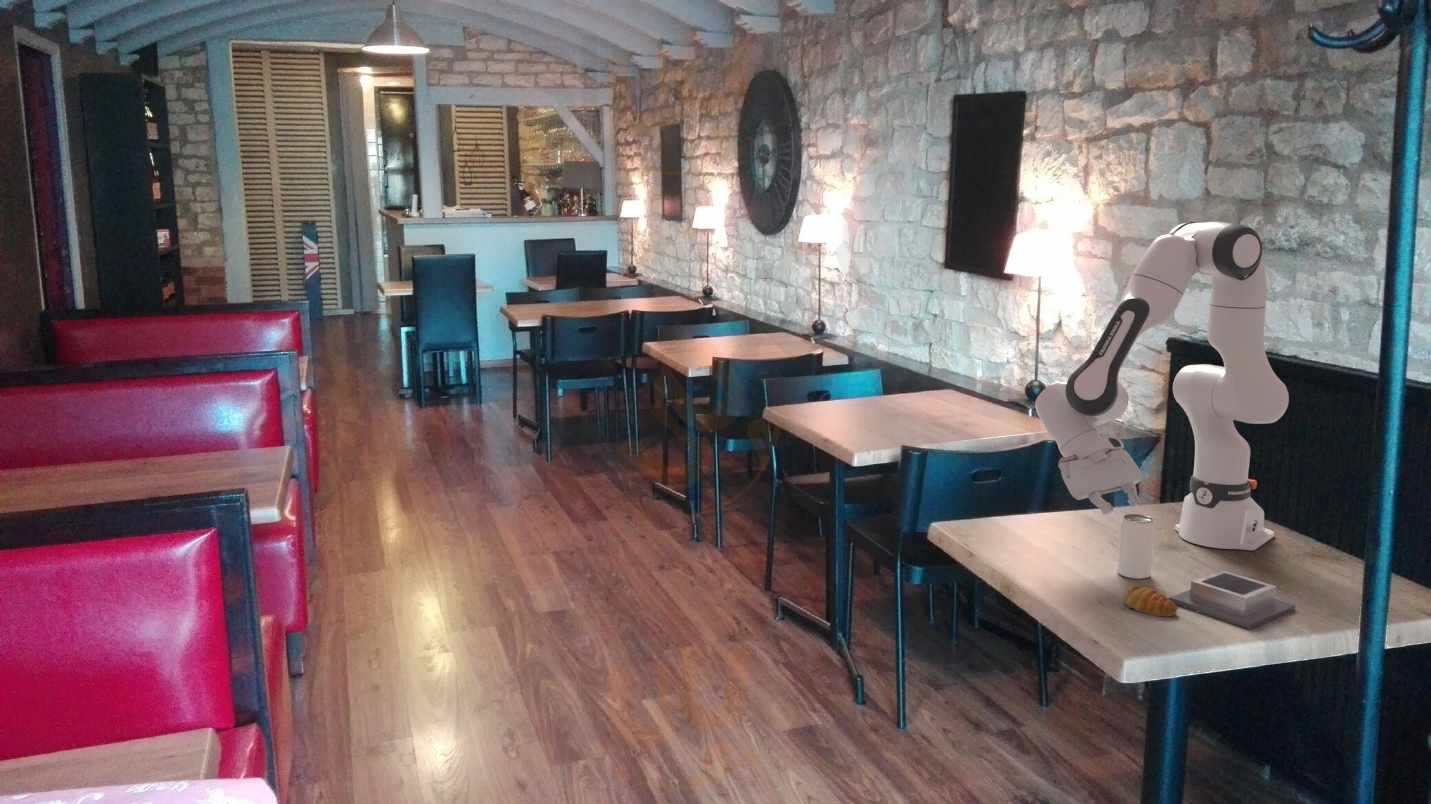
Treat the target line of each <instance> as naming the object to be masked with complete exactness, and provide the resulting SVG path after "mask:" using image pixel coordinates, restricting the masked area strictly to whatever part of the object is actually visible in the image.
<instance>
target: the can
mask: <svg viewBox="0 0 1431 804" xmlns="http://www.w3.org/2000/svg"><path fill="white" fill-rule="evenodd" d="M1155 527H1156V526H1155V524H1154V518H1153V517H1150V516H1148V515H1143V514H1139V513H1138V514H1137V513H1135V514H1134V513H1131V514H1125V515H1124V516H1123V520H1122V521H1121V524H1120V531H1119V543H1118V551H1117V553H1118V555H1117V568H1116V572H1117V573H1118V574H1119V576H1122V577H1123V576H1124V578H1126V577H1127V578H1126V579H1130V578H1131V579H1132V580H1146V579H1148V578H1149V577H1151V573H1152V564H1153V555H1154V554H1153V553H1154V543H1155V530H1156V528H1155ZM1145 578H1146V579H1145Z"/></svg>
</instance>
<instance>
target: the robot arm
mask: <svg viewBox="0 0 1431 804" xmlns="http://www.w3.org/2000/svg"><path fill="white" fill-rule="evenodd" d="M1262 255H1263V245H1262V241H1261V237H1260V235H1259V234H1258V232H1257V231H1256V230H1255V229H1253V228H1251V227H1249V226H1248V225H1245V224H1240V223H1229V222H1222V221H1207V222H1206V221H1205V222H1204V221H1203V222H1197V221H1196V222H1194V221H1189V222H1184V223H1181V224H1178V225H1176V226H1175V227H1173V228H1172V229H1171V230H1170V231H1169V232H1168V233H1167V234H1163V235H1160V236H1157V238H1155V239H1154V240H1153V241H1152V242H1151V244H1150V245H1149V246H1148V247H1147V249H1146V250H1145V252H1144V254H1142V256H1141V258H1140V259H1139V261H1138V263H1137V265H1136V266H1135V268H1134V271H1133V272H1132V274H1131V276H1130V279H1129V280H1128V282H1127V285H1126V287H1125V289H1124V291H1123V294H1122V296H1121V299H1120V300H1119V302H1118V305H1117V307H1116V309H1115V312H1114V313H1113V315H1112V317H1111V319H1110V321H1109V322H1108V324H1107V326H1106V327H1105V329H1104V331H1103V332H1102V335H1100V338H1099V340H1098V342H1097V344H1096V345H1095V346H1094V349H1093V350H1092V352H1091V354H1090V355H1089V357H1088V358H1087V360H1086V361H1084V362H1083V363H1082V364H1081V365H1080V366H1079V367H1077V369H1075V370H1074V371H1073V373H1071V374H1070V376H1069V378H1068V379H1067V382H1066V381H1065V382H1064V381H1055V382H1053V383H1050V384H1049V385H1047V386H1046V387H1044V389H1042V390H1041V392H1040V393H1039V394H1038V396H1037V398H1036V399H1035V403H1034V406H1035V411H1036V414H1037V416H1038V417H1039V419H1040V421H1041V424H1042V425H1043V427H1044V429H1045V430H1046V432H1047V433H1048V435H1049V436H1050V437H1051V438H1052V439H1053V440H1054V441H1055V442H1056V444H1057V446H1058V449H1059V452H1060V454H1061V455H1062V457H1061V458H1059V461H1058V468H1059V469H1060V475H1061V477H1062V480H1063V482H1064V485H1065V486H1066V487H1067V490H1068V492H1069V493H1070V495H1071V496H1072V497H1073V498H1074V499H1075V500H1077V501H1080V500H1084V499H1088V500H1089V501H1090V502H1091V503H1092V504H1093V505H1094V506H1095V507H1097V508H1098V509H1100V511H1101V513H1102V514H1103V515H1108V514H1111V513H1112V512H1113V511H1114V507H1113V506H1112V504H1111V502H1107V501H1106V500H1105V499H1103V497H1102V495H1104V494H1110V493H1112V492H1117V491H1120V490H1122V491H1123V492H1124V493H1125V494H1127V497H1128V500H1127V503H1128V504H1129V506H1130V507H1131V508H1134V507H1137V506H1139V505H1140V504H1142V501H1141V499H1140V498H1139V496H1138V491H1137V490H1138V489H1137V486H1136V485H1137V484H1138V483H1140V482H1141V481H1142V480H1143V476H1142V471H1141V470H1140V468H1139V467H1138V465H1137V464H1136V461H1134V458H1132V456H1131V455H1130V454H1129V452H1127V451H1126V450H1125V449H1123V448H1124V447H1125V445H1124V443H1123V441H1122V440H1121V439H1120V438H1115V437H1111V436H1108V435H1104V434H1101V433H1100V432H1099V430H1098V429H1097V427H1101V426H1104V425H1105V424H1108V423H1110V422H1113V421H1115V420H1117V419H1119V418H1120V417H1121V416H1122V415H1124V413H1125V412H1126V410H1127V408H1128V405H1129V394H1128V392H1127V389H1126V388H1125V386H1124V385H1122V383H1121V382H1120V381H1119V373H1120V371H1121V369H1122V367H1123V365H1124V363H1125V361H1126V359H1127V358H1128V355H1129V354H1130V352H1131V350H1132V349H1133V347H1134V345H1135V343H1136V341H1137V340H1138V339H1139V337H1140V336H1141V335H1142V334H1144V332H1146V331H1148V330H1150V329H1154V328H1159V327H1160V326H1163V325H1165V324H1166V323H1167V322H1168V321H1169V320H1170V318H1171V317H1172V316H1173V314H1174V313H1175V311H1176V310H1177V308H1178V306H1179V305H1180V303H1181V301H1182V299H1183V297H1184V295H1185V292H1186V291H1187V288H1188V285H1189V283H1190V280H1191V278H1192V277H1193V276H1194V275H1196V274H1199V275H1205V276H1206V275H1207V276H1208V275H1209V276H1210V278H1211V283H1212V287H1211V292H1210V301H1209V308H1208V319H1207V331H1206V339H1207V341H1208V343H1209V344H1210V345H1211V346H1212V348H1214V349H1215V350H1216V351H1217V352H1218V353H1219V354H1220V357H1221V358H1222V362H1223V365H1224V366H1221V365H1215V364H1214V365H1213V364H1208V363H1207V364H1205V363H1202V364H1200V363H1199V364H1189V365H1186V366H1183V367H1182V368H1181V369H1180V370H1179V371H1178V372H1177V373H1176V375H1175V377H1174V380H1173V383H1172V393H1173V396H1174V399H1175V401H1176V402H1177V404H1179V406H1180V407H1181V408H1182V409H1183V411H1184V412H1185V414H1186V416H1187V418H1188V420H1189V423H1190V426H1191V428H1192V432H1193V437H1194V465H1193V474H1192V475H1191V476H1190V479H1189V492H1190V493H1188V495H1187V494H1186V495H1185V497H1184V499H1183V503H1182V509H1181V515H1180V518H1179V519H1180V521H1179V523H1177V524H1175V525H1174V530H1175V531H1176V532H1178V535H1179V536H1180V538H1181V539H1183V540H1185V541H1187V542H1189V543H1192V544H1195V545H1198V546H1201V547H1202V546H1203V547H1208V548H1213V549H1225V550H1244V551H1255V550H1257V549H1258V548H1260V547H1262V546H1263V545H1264V544H1266V543H1267V542H1269V541H1270V540H1271V539H1273V538H1274V537H1275V532H1274V531H1273V530H1271V529H1269V528H1266V527H1264V525H1265V511H1264V510H1263V508H1262V507H1261V506H1260V505H1258V503H1257V502H1256V501H1255V500H1254V499H1253V498H1252V497H1251V496H1252V495H1251V494H1252V493H1251V490H1252V489H1253V490H1255V489H1256V487H1258V486H1257V485H1258V482H1257V480H1256V479H1250V478H1248V477H1249V470H1250V469H1249V468H1250V462H1251V461H1250V460H1251V459H1250V458H1251V447H1250V445H1249V443H1248V442H1247V440H1246V439H1245V438H1244V437H1243V436H1242V435H1241V434H1240V433H1239V432H1238V430H1237V429H1236V427H1235V423H1234V421H1236V422H1237V421H1238V422H1241V423H1242V422H1243V423H1246V424H1256V425H1257V424H1260V425H1261V424H1274V423H1275V422H1277V421H1279V419H1281V418H1282V417H1283V415H1284V414H1285V413H1286V411H1287V409H1288V407H1289V402H1290V400H1289V399H1290V397H1289V391H1288V388H1287V386H1286V384H1285V383H1284V382H1283V381H1282V380H1281V378H1279V377H1278V376H1277V374H1276V373H1275V372H1274V370H1273V369H1272V366H1271V364H1270V362H1269V359H1268V356H1267V353H1266V348H1265V341H1264V339H1265V337H1264V335H1265V321H1266V320H1265V319H1266V310H1267V297H1268V296H1267V294H1268V291H1267V287H1268V286H1267V285H1268V284H1267V274H1266V265H1265V263H1264V262H1263V260H1262Z"/></svg>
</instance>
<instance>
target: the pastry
mask: <svg viewBox="0 0 1431 804" xmlns="http://www.w3.org/2000/svg"><path fill="white" fill-rule="evenodd" d="M1122 602H1123V603H1124V604H1125V606H1126V607H1127V608H1128V607H1129V608H1128V609H1134V610H1135V611H1136V612H1139V611H1141V612H1140V613H1145V614H1146V613H1147V614H1146V615H1150V614H1151V616H1156V617H1167V618H1169V617H1171V616H1173V615H1175V614H1176V613H1177V611H1178V605H1176V604H1175V603H1174V602H1172V600H1171V599H1169V598H1168V597H1167V596H1166V595H1165V594H1163V593H1160V592H1159V591H1158V590H1156V589H1152V588H1150V587H1141V585H1138V584H1133V585H1131V586H1130V587H1129V588H1128V589H1127V590H1126V592H1125V593H1124V596H1123V600H1122ZM1148 613H1149V614H1148Z"/></svg>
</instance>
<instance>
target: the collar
mask: <svg viewBox="0 0 1431 804" xmlns="http://www.w3.org/2000/svg"><path fill="white" fill-rule="evenodd" d="M1276 595H1277V586H1276V585H1273V584H1271V583H1268V582H1267V583H1266V582H1263V581H1261V580H1260V581H1259V580H1257V579H1254V578H1250V577H1246V576H1243V575H1241V574H1236V573H1233V572H1230V571H1227V570H1223V569H1221V570H1219V571H1215V572H1212V573H1210V574H1207V575H1204V576H1202V577H1199V578H1196V579H1193V580H1191V581H1190V588H1189V589H1188V590H1185V591H1182V592H1180V593H1177V594H1175V595H1171V596H1169V599H1171V600H1172V602H1174V603H1175V605H1176V606H1179V605H1180V607H1182V608H1184V607H1185V609H1187V608H1188V610H1190V609H1192V610H1191V611H1193V610H1194V612H1196V611H1199V612H1201V613H1200V614H1202V613H1204V614H1203V615H1205V614H1206V616H1208V615H1209V616H1208V617H1211V616H1212V618H1214V619H1217V620H1220V621H1223V622H1226V623H1229V624H1232V625H1235V626H1238V627H1242V628H1244V629H1247V630H1252V629H1255V628H1257V627H1259V626H1261V624H1262V625H1263V624H1266V623H1268V622H1270V620H1271V621H1273V620H1276V619H1277V618H1280V617H1282V615H1283V616H1284V614H1285V613H1287V614H1289V613H1288V612H1290V611H1292V612H1294V611H1295V610H1296V605H1295V604H1292V603H1289V602H1286V601H1283V600H1280V599H1277V598H1276ZM1293 610H1294V611H1293ZM1199 612H1198V613H1199ZM1290 613H1291V612H1290ZM1285 615H1286V614H1285ZM1275 618H1276V619H1275Z"/></svg>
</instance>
